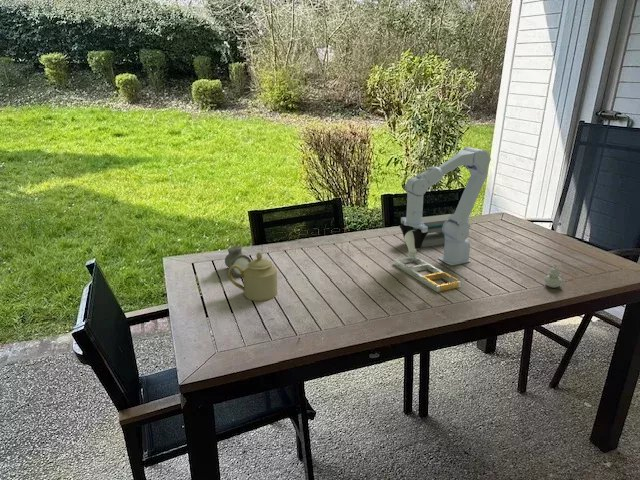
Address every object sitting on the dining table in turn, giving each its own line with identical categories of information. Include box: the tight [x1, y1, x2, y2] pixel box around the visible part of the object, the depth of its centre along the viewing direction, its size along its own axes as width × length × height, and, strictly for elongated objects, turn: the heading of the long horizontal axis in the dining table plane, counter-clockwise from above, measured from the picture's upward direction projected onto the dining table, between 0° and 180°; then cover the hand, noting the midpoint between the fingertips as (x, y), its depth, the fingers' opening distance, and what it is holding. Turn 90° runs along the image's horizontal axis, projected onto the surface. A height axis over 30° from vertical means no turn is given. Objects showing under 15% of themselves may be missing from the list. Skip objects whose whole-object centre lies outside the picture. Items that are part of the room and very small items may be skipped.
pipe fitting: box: [224, 245, 252, 278], centre depth 167 cm, size 12×8×10 cm, turn 29°
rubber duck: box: [544, 265, 564, 289], centre depth 151 cm, size 5×7×8 cm
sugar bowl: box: [227, 252, 278, 302], centre depth 146 cm, size 15×11×15 cm
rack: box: [393, 256, 462, 293], centre depth 162 cm, size 10×27×2 cm, turn 23°
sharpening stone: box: [401, 213, 453, 248], centre depth 195 cm, size 25×8×11 cm, turn 109°
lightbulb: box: [403, 230, 418, 259], centre depth 167 cm, size 6×6×11 cm
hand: (412, 245), depth 168 cm, fingers closed on lightbulb, 6 cm apart
